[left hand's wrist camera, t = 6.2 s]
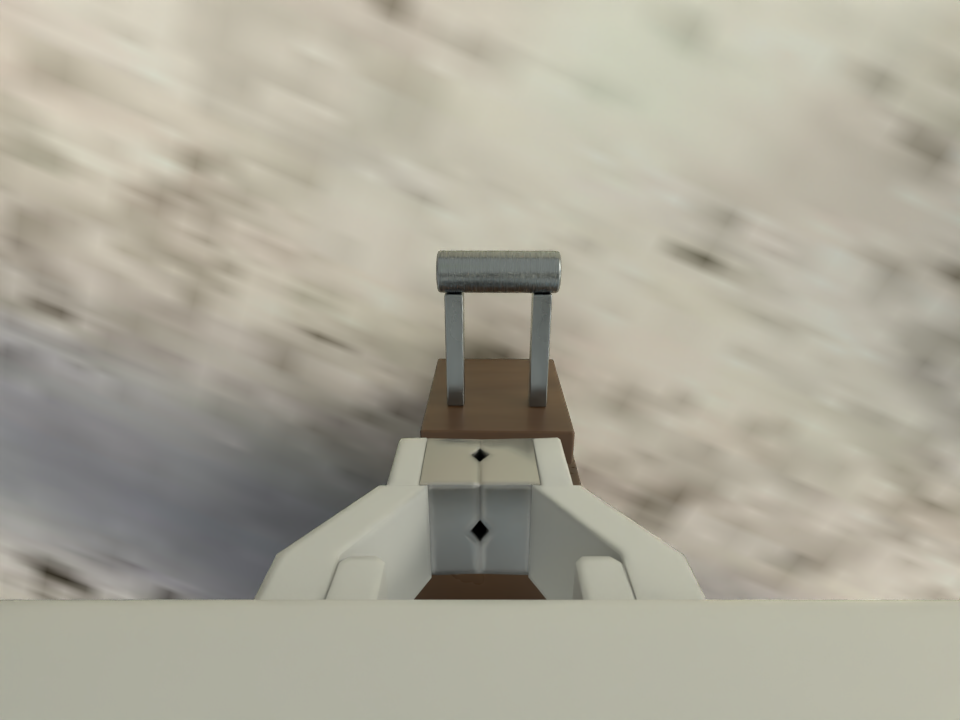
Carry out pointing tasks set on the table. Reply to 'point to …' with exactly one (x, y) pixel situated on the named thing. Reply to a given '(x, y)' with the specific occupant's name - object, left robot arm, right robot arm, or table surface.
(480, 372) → the drawer
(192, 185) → the table surface
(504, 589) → the cabinet
